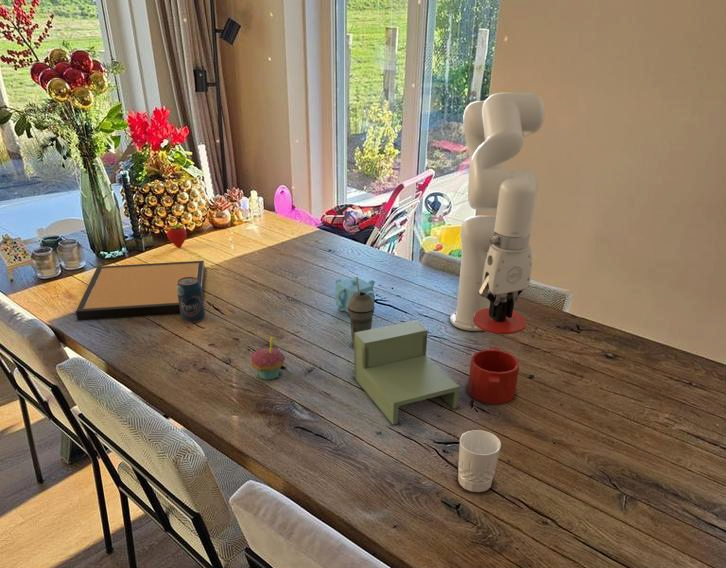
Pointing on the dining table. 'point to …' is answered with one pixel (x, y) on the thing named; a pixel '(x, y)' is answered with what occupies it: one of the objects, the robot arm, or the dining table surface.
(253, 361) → the cupcake
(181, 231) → the strawberry
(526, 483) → the dining table surface
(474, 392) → the pot
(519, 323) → the lid
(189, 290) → the soda can
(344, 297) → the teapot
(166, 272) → the cork board
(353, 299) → the beverage cup
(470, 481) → the white cup
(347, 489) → the dining table surface
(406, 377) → the green step stand
